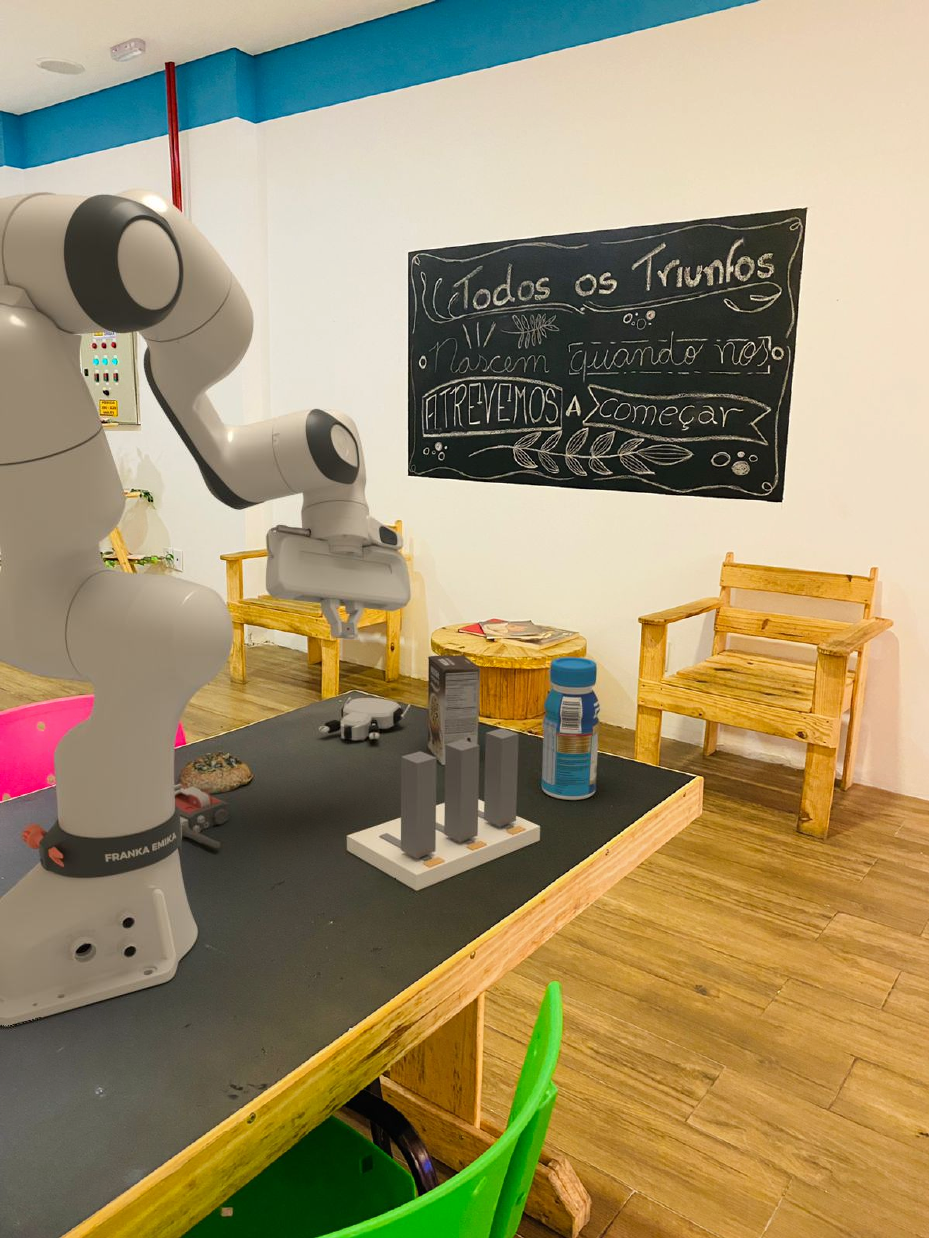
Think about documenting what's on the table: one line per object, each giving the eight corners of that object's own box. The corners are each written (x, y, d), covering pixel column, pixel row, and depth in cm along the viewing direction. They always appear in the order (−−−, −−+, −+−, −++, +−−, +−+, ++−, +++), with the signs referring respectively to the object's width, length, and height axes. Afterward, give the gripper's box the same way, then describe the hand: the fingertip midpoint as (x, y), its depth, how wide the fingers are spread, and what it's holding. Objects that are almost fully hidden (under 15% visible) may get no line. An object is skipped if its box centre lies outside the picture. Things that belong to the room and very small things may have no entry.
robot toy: (379, 754, 156) (412, 722, 169) (378, 729, 155) (411, 699, 168) (314, 745, 160) (351, 715, 173) (313, 721, 158) (350, 692, 172)
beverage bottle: (528, 789, 139) (532, 660, 135) (566, 776, 144) (571, 652, 140) (570, 806, 133) (576, 672, 129) (608, 792, 138) (614, 663, 134)
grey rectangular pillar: (460, 842, 115) (461, 750, 112) (444, 834, 117) (445, 744, 115) (477, 835, 117) (479, 745, 114) (461, 827, 119) (463, 739, 117)
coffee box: (426, 747, 156) (427, 655, 153) (462, 744, 158) (464, 653, 155) (441, 766, 148) (442, 668, 145) (479, 762, 150) (481, 666, 147)
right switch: (499, 826, 119) (502, 738, 117) (483, 819, 122) (485, 732, 119) (516, 820, 121) (518, 733, 119) (500, 813, 124) (502, 728, 121)
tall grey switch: (416, 858, 110) (417, 763, 108) (400, 850, 112) (401, 756, 110) (435, 851, 112) (436, 757, 110) (419, 843, 114) (420, 751, 112)
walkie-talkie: (123, 817, 128) (212, 859, 115) (121, 787, 127) (210, 826, 115) (178, 798, 134) (267, 836, 122) (176, 769, 133) (266, 805, 121)
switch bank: (416, 890, 108) (416, 873, 107) (346, 850, 118) (346, 834, 117) (539, 840, 121) (540, 824, 121) (467, 807, 132) (468, 793, 131)
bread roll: (202, 764, 147) (204, 735, 145) (264, 781, 144) (267, 752, 143) (161, 792, 137) (163, 761, 135) (227, 811, 134) (230, 780, 132)
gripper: (279, 513, 111) (285, 625, 107) (412, 537, 124) (422, 637, 121) (253, 530, 115) (258, 637, 112) (384, 551, 129) (393, 648, 125)
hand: (344, 637), depth 116 cm, fingers closed
